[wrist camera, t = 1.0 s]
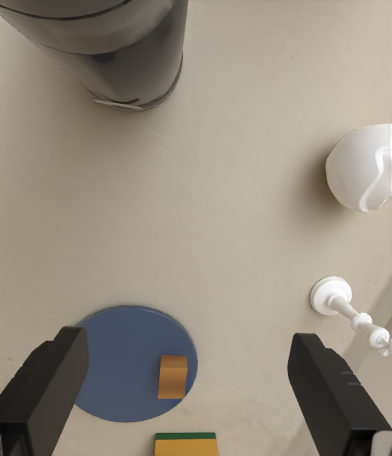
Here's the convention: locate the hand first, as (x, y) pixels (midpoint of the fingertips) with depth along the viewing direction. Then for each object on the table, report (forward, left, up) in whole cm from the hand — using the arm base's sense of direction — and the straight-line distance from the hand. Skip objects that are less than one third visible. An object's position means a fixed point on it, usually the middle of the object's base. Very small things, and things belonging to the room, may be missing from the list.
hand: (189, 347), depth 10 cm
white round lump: (-3, +19, -19) cm, 27 cm away
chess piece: (+12, +17, -19) cm, 28 cm away
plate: (+16, -8, -19) cm, 26 cm away
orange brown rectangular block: (+17, -4, -18) cm, 25 cm away
